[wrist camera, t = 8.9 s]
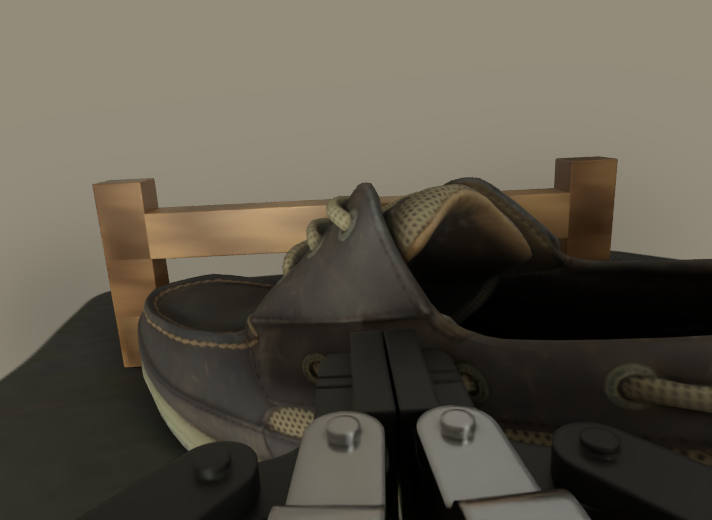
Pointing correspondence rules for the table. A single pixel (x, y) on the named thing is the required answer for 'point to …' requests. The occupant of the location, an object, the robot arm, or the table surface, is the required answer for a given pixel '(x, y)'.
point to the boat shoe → (439, 326)
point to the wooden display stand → (302, 230)
